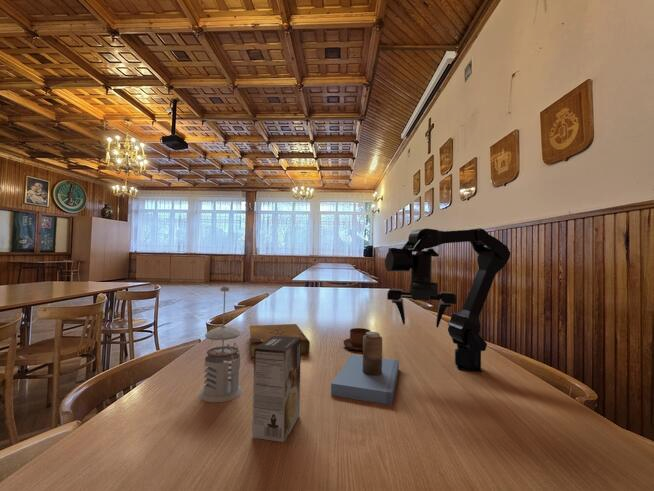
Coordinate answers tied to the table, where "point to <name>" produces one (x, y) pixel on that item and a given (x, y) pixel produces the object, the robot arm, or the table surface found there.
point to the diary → (266, 331)
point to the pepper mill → (372, 354)
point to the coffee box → (276, 387)
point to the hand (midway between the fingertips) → (420, 325)
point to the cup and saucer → (356, 338)
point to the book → (366, 381)
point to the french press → (222, 365)
